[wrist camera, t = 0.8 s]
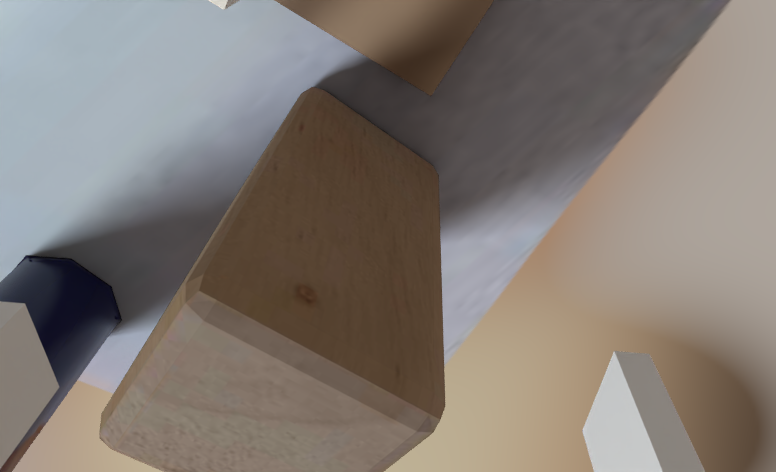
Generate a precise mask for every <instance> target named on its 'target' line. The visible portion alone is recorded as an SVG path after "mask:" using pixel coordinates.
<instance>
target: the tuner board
mask: <svg viewBox="0 0 776 472" xmlns="http://www.w3.org/2000/svg"><path fill="white" fill-rule="evenodd" d="M275 1H277V2H278V3H280V4H281V5H283V6H285V7H286V8H288V9H290V10H291V11H293V12H294V13H296V14H298V15H299V16H301V17H303V18H304V19H306V20H308V21H309V22H311V23H312V24H314V25H316V26H317V27H319V28H321V29H322V30H324V31H325V32H327V33H329V34H330V35H332V36H334V37H335V38H337V39H339V40H340V41H342V42H343V43H345V44H347V45H348V46H350V47H352V48H353V49H355V50H356V51H358V52H360V53H361V54H363V55H365V56H366V57H368V58H370V59H371V60H373V61H374V62H376V63H378V64H379V65H381V66H383V67H384V68H386V69H387V70H389V71H391V72H392V73H394V74H396V75H397V76H399V77H401V78H402V79H404V80H405V81H407V82H409V83H410V84H412V85H414V86H415V87H417V88H418V89H420V90H422V91H423V92H425V93H427V94H428V95H430V96H431V95H432V94H433V92H434V91H435V89H436V88H437V86H438V85H439V83H440V82H441V80H442V79H443V77H444V76H445V74H446V73H447V71H448V70H449V68H450V67H451V65H452V63H453V62H454V60H455V59H456V57H457V56H458V54H459V53H460V51H461V50H462V48H463V47H464V45H465V44H466V42H467V41H468V39H469V38H470V36H471V35H472V33H473V32H474V30H475V28H476V27H477V25H478V24H479V22H480V21H481V19H482V18H483V16H484V15H485V13H486V12H487V10H488V9H489V7H490V6H491V4H492V3H493V1H494V0H275Z"/></svg>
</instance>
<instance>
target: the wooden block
mask: <svg viewBox="0 0 776 472" xmlns="http://www.w3.org/2000/svg"><path fill="white" fill-rule="evenodd" d="M444 383H445V382H444V347H443V312H442V278H441V243H440V209H439V175H438V173H437V172H436V170H435V169H434V167H433V166H432V165H431V164H430V163H428V162H427V161H425V160H424V159H422V158H421V157H419V156H418V155H417V154H415V153H414V152H412V151H411V150H409V149H408V148H407V147H405V146H404V145H402V144H401V143H399V142H398V141H396V140H395V139H394V138H392V137H391V136H389V135H388V134H386V133H385V132H384V131H382V130H381V129H379V128H378V127H376V126H375V125H373V124H372V123H371V122H369V121H368V120H366V119H365V118H363V117H362V116H361V115H359V114H358V113H356V112H355V111H353V110H352V109H350V108H349V107H348V106H346V105H345V104H343V103H342V102H340V101H339V100H338V99H336V98H335V97H333V96H332V95H330V94H329V93H327V92H326V91H325V90H321V89H318V88H315V87H311V88H309V89H308V90H306V91H305V92H303V93H302V94H301V95H300V96H299V98H298V99H297V101H296V103H295V104H294V106H293V107H292V109H291V110H290V112H289V114H288V115H287V117H286V118H285V120H284V121H283V123H282V125H281V126H280V128H279V129H278V131H277V132H276V134H275V135H274V137H273V139H272V140H271V142H270V143H269V145H268V146H267V148H266V150H265V151H264V153H263V154H262V156H261V157H260V159H259V161H258V162H257V164H256V165H255V167H254V168H253V170H252V172H251V173H250V175H249V176H248V178H247V179H246V181H245V182H244V184H243V186H242V187H241V189H240V190H239V192H238V194H237V195H236V197H235V198H234V200H233V202H232V203H231V205H230V207H229V208H228V210H227V211H226V213H225V215H224V216H223V218H222V220H221V221H220V223H219V224H218V226H217V228H216V229H215V231H214V232H213V234H212V236H211V237H210V239H209V241H208V242H207V244H206V245H205V247H204V249H203V250H202V252H201V254H200V255H199V257H198V258H197V260H196V262H195V263H194V265H193V266H192V268H191V270H190V271H189V273H188V275H187V276H186V278H185V279H184V281H183V283H182V284H181V286H180V288H179V289H178V291H177V292H176V294H175V296H174V297H173V299H172V300H171V302H170V304H169V305H168V307H167V309H166V310H165V312H164V313H163V315H162V317H161V318H160V320H159V322H158V323H157V325H156V326H155V328H154V330H153V331H152V333H151V334H150V336H149V338H148V339H147V341H146V343H145V344H144V346H143V347H142V349H141V351H140V352H139V354H138V356H137V357H136V359H135V360H134V362H133V364H132V365H131V367H130V368H129V370H128V372H127V373H126V375H125V377H124V378H123V380H122V381H121V383H120V385H119V386H118V388H117V390H116V391H115V393H114V394H113V396H112V398H111V399H110V401H109V403H108V404H107V406H106V407H105V409H104V411H103V412H102V415H101V424H100V439H101V440H102V441H103V442H104V443H105V444H106V445H107V446H108V447H109V448H111V449H112V450H114V451H117V452H119V453H121V454H124V455H126V456H128V457H131V458H133V459H135V460H138V461H140V462H143V463H145V464H147V465H150V466H152V467H154V468H157V469H159V470H161V471H164V472H384V471H385V470H386V469H387V468H389V467H390V466H391V465H393V464H394V463H395V462H396V461H398V460H399V459H400V458H401V457H403V456H404V455H405V454H407V453H408V452H409V451H410V450H412V449H413V448H414V447H415V446H417V445H418V444H419V443H421V442H422V441H423V440H424V439H426V438H427V437H428V436H429V435H431V434H432V433H433V432H434V430H435V428H436V426H437V425H438V423H439V421H440V419H441V416H442V413H443V411H444V408H445V384H444Z"/></svg>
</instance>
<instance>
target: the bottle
mask: <svg viewBox="0 0 776 472" xmlns="http://www.w3.org/2000/svg"><path fill="white" fill-rule="evenodd" d="M0 301H1V302H13V303H25V305H26V307H27V310H28V312H29V315H30V317H31V319H32V322H33V324H34V327H35V329H36V331H37V334H38V336H39V339H40V341H41V344H42V346H43V348H44V351H45V353H46V356H47V358H48V360H49V363H50V365H51V368H52V370H53V373H54V375H55V377H56V380H57V382H58V385H59V388H58V390H57V391H56V393H55V394H54V395H53V397H52V398H51V400H50V401H49V402H48V404H47V405H46V406H45V408H44V409H43V411H42V412H41V413H40V415H39V416H38V418H37V419H36V420H35V422H34V423H33V424H32V426H31V427H30V429H29V430H28V431H27V433H26V434H25V436H24V437H23V438H22V440H21V441H20V443H19V444H18V445H17V447H16V448H15V449H14V451H13V452H12V454H11V455H10V456H9V458H8V459H7V461H6V462H5V463H4V465H3V466H2V468H1V469H0V472H12V471H13V469H14V468H15V466H16V465H17V464H18V462H19V461H20V459H21V458H22V457H23V455H24V454H25V452H26V451H27V449H28V448H29V447H30V445H31V444H32V443H33V441H34V440H35V438H36V437H37V436H38V434H39V433H40V431H41V430H42V428H43V427H44V426H45V424H46V423H47V422H48V420H49V419H50V417H51V416H52V415H53V413H54V412H55V410H56V409H57V407H58V406H59V405H60V403H61V402H62V401H63V399H64V398H65V396H66V395H67V394H68V392H69V391H70V389H71V388H72V386H73V385H74V384H75V382H76V381H77V380H78V378H79V377H80V375H81V374H82V373H83V371H84V370H85V368H86V367H87V366H88V364H89V363H90V361H91V360H92V358H93V357H94V356H95V354H96V353H97V351H98V350H99V349H100V347H101V346H102V344H103V343H104V342H105V340H106V339H107V337H108V336H109V335H110V333H111V332H112V330H113V329H114V328H115V326H116V325H117V324H118V323H120V322H121V321H122V319H121V316H120V313H119V310H118V307H117V303H116V300H115V297H114V294H113V291H112V287H111V286H109V285H108V284H107V283H105V282H104V281H102V280H101V279H99V278H98V277H97V276H95V275H94V274H92V273H91V272H89V271H88V270H87V269H85V268H84V267H82V266H81V265H79V264H78V263H76V262H75V261H74V260H72V259H66V258H52V257H38V256H25V257H24V259H23V260H22V261H21V262H20V263H19V264H18V265H17V267H16V268H15V269H14V270H13V271H12V272H11V273H10V274H9V275H8V276H7V277H6V278H5V279H3V280H2V281H1V282H0Z"/></svg>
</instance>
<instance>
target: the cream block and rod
mask: <svg viewBox="0 0 776 472" xmlns="http://www.w3.org/2000/svg"><path fill="white" fill-rule="evenodd" d="M208 1H210V2H212V3H213V4H215V5H217V6H218V7H220V8H222V9H224V10H225V9H226V8H228V7H229V6H231V5H233V4H234V3H236V2H238V1H239V0H208Z"/></svg>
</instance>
